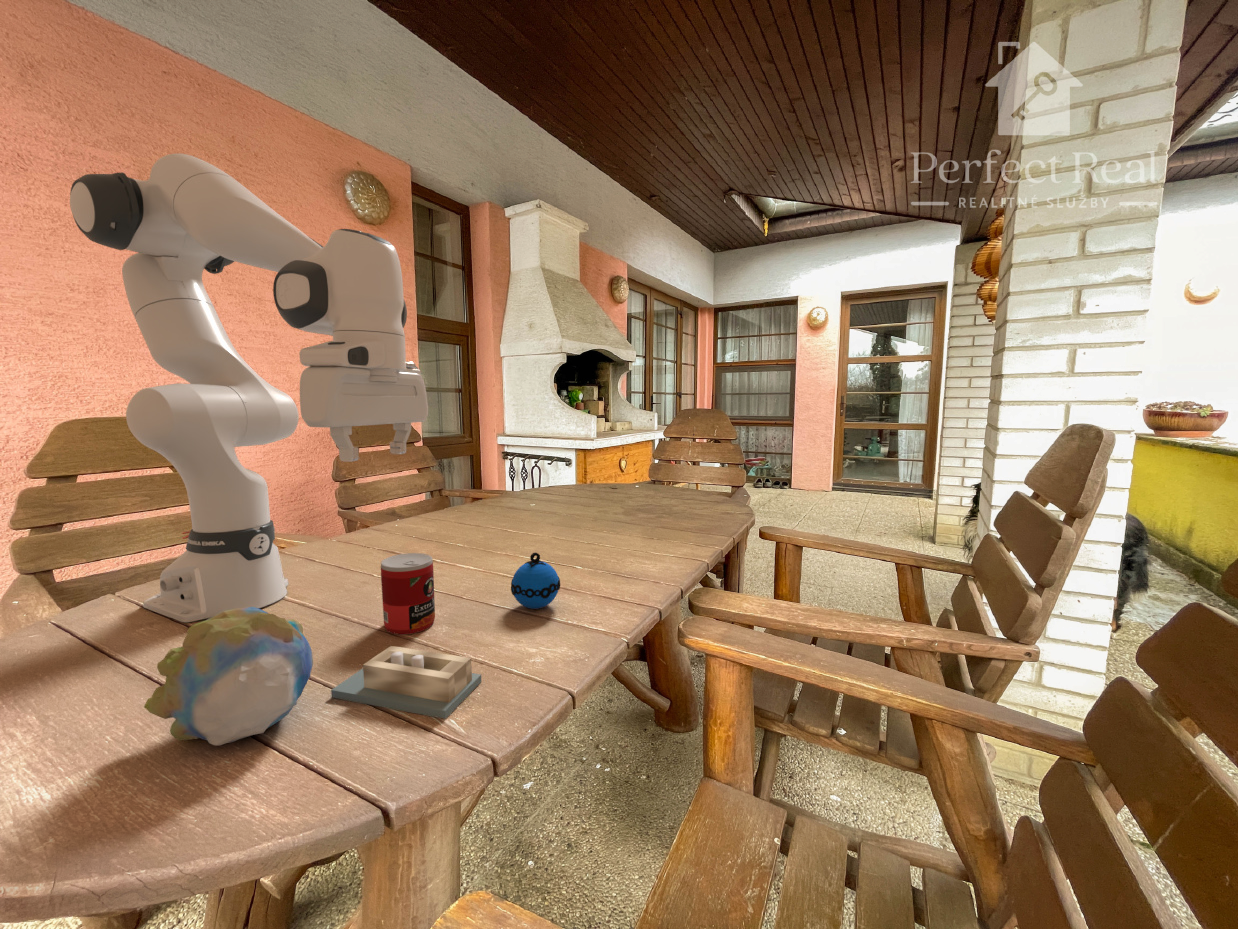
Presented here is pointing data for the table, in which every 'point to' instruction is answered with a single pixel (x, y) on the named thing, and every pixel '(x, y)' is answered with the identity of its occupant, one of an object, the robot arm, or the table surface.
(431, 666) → the beige wooden rectangular frame
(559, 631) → the table surface
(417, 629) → the canned food
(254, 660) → the decorative rock
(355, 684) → the boss board
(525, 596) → the ornament
